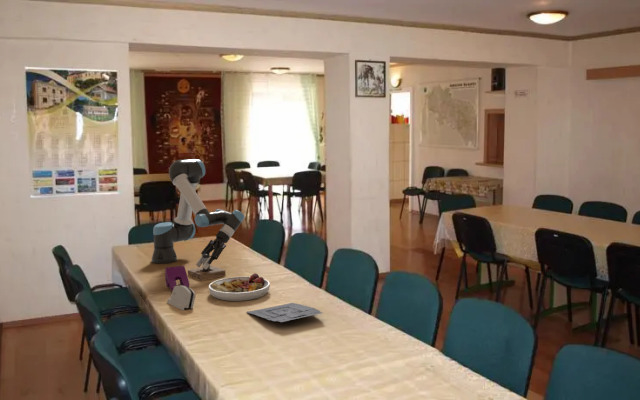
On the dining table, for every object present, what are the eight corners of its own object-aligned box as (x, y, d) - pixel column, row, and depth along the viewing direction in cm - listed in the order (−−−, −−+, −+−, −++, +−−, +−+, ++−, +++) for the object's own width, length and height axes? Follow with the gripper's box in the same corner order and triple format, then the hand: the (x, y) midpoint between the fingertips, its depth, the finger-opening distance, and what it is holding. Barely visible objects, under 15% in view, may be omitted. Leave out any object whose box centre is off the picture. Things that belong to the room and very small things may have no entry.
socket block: (188, 275, 325) (187, 270, 325) (211, 270, 335) (211, 265, 335) (201, 280, 314) (201, 275, 314) (225, 275, 324) (225, 270, 324)
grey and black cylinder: (201, 275, 325) (201, 254, 323) (208, 274, 327) (207, 253, 326) (205, 276, 322) (204, 255, 320) (211, 275, 324) (211, 254, 323)
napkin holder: (166, 302, 276) (172, 282, 277) (175, 303, 279) (180, 283, 280) (183, 310, 263) (189, 289, 264) (192, 312, 266) (198, 290, 267)
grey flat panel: (277, 329, 235) (276, 320, 235) (246, 318, 260) (245, 310, 260) (327, 318, 248) (327, 310, 247) (293, 308, 273) (292, 300, 273)
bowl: (243, 306, 269) (243, 290, 268) (196, 297, 285) (195, 281, 284) (281, 290, 294) (281, 275, 293) (235, 282, 310) (235, 268, 309)
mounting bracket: (190, 301, 297) (183, 278, 312) (191, 288, 293) (184, 265, 307) (170, 304, 294) (165, 280, 308) (171, 290, 289) (165, 267, 303)
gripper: (238, 240, 325) (214, 274, 316) (219, 235, 339) (196, 267, 331) (230, 232, 321) (205, 266, 312) (211, 228, 335) (187, 260, 327)
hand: (200, 267), depth 321 cm, fingers open, 7 cm apart
